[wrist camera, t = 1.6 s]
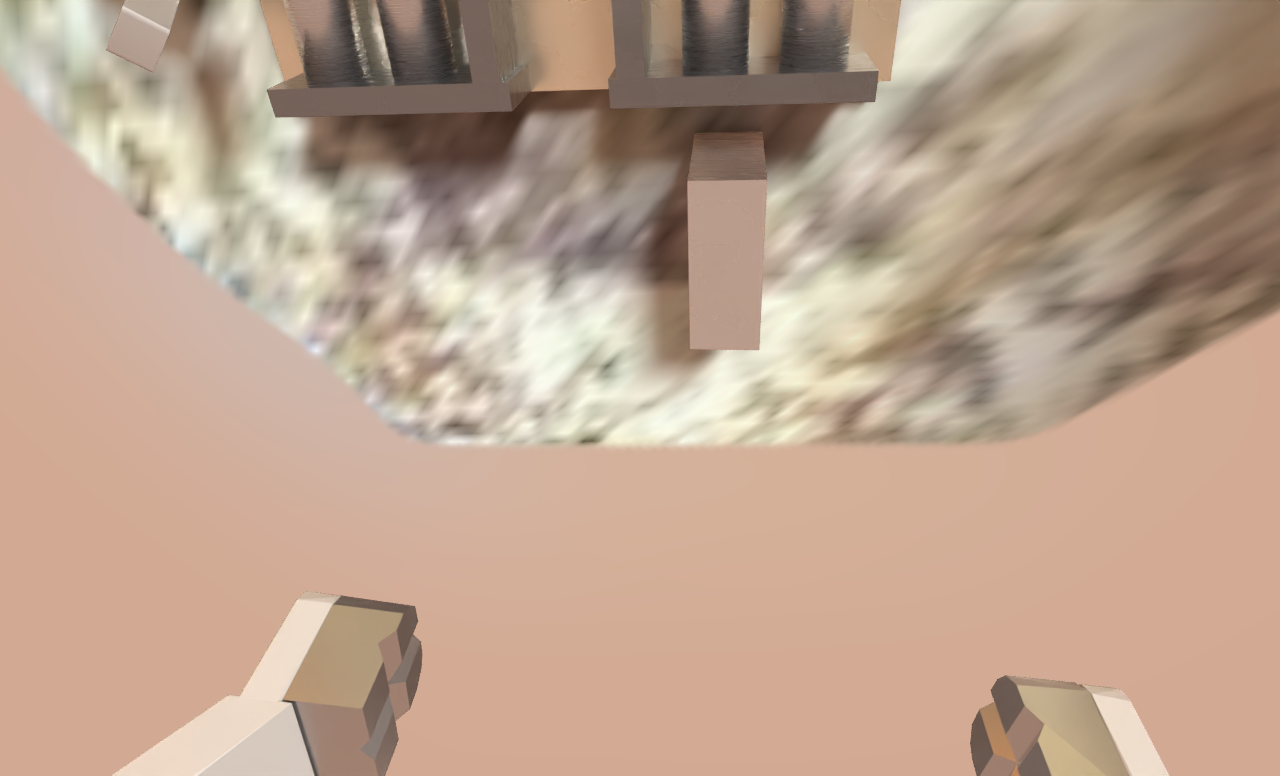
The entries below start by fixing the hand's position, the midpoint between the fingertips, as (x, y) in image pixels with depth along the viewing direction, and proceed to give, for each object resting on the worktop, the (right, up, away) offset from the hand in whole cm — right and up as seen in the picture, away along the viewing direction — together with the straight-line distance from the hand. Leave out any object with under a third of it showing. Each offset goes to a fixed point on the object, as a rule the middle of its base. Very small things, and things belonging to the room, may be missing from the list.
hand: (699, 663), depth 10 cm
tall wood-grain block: (+3, +12, +22) cm, 26 cm away
